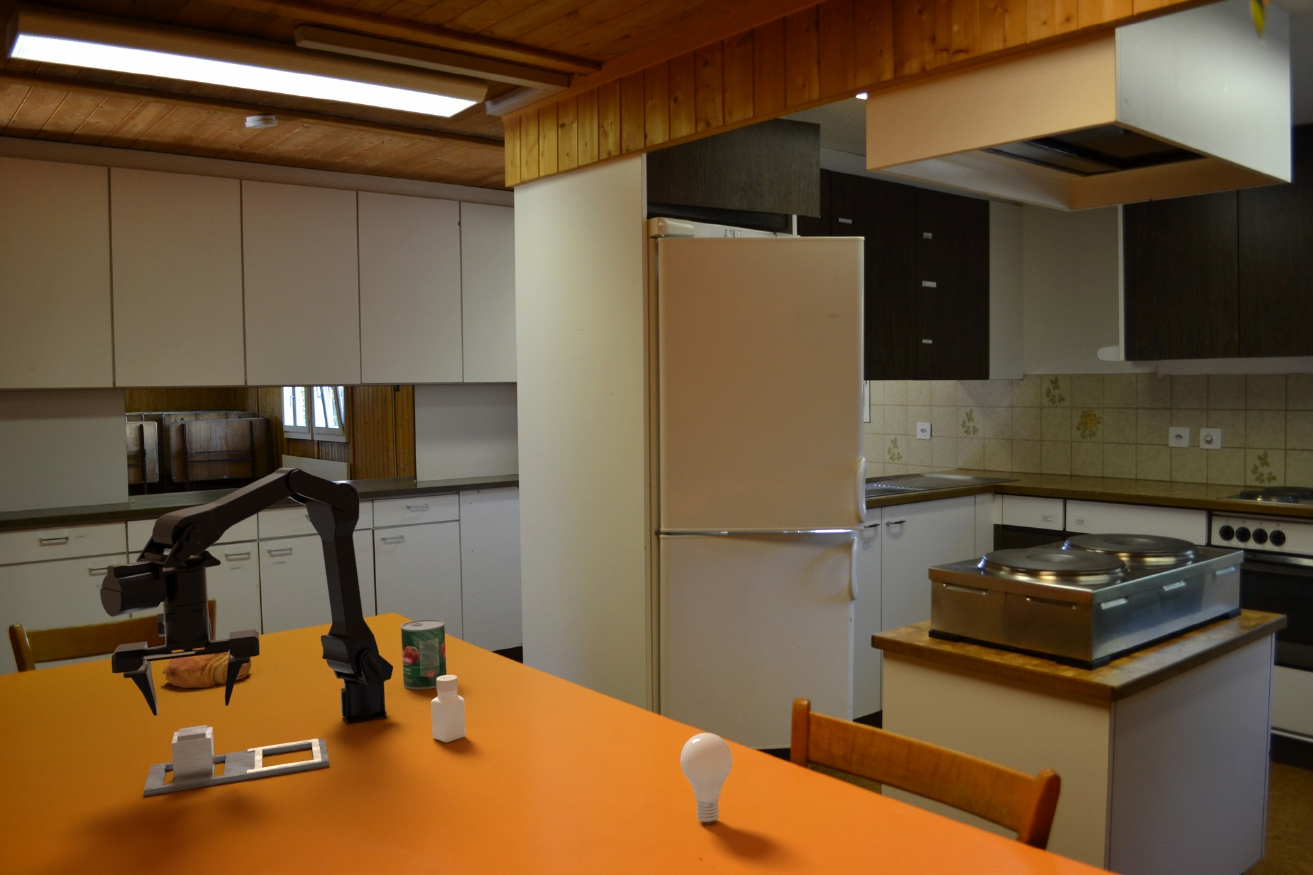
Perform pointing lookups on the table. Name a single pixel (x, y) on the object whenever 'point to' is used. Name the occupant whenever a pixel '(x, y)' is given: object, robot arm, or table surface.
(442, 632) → the canned tomato
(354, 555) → the robot arm
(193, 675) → the croissant
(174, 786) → the rail
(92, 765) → the table surface
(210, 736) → the grey upright rectangular block
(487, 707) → the table surface
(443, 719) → the pepper shaker
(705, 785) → the lightbulb
